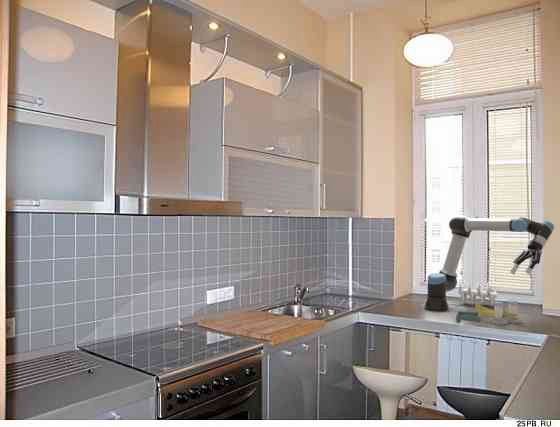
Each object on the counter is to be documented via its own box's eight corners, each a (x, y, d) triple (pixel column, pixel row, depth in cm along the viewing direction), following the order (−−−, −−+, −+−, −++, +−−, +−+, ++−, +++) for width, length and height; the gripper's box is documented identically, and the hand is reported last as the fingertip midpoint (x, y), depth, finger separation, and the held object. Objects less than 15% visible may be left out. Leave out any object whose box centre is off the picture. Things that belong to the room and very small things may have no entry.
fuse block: (511, 322, 269) (511, 316, 269) (525, 325, 261) (525, 319, 261) (486, 324, 262) (486, 318, 262) (498, 328, 253) (498, 322, 253)
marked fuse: (507, 320, 266) (507, 300, 267) (516, 321, 265) (517, 300, 265) (508, 322, 262) (508, 301, 262) (517, 323, 260) (517, 302, 260)
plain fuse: (493, 321, 262) (493, 301, 263) (502, 322, 261) (503, 301, 261) (493, 323, 258) (494, 302, 258) (503, 324, 256) (503, 303, 256)
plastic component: (511, 315, 278) (502, 309, 273) (507, 326, 277) (498, 320, 272) (482, 306, 295) (474, 301, 290) (478, 317, 294) (469, 312, 289)
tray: (457, 317, 280) (457, 310, 280) (479, 319, 275) (479, 312, 275) (456, 321, 269) (456, 314, 269) (479, 323, 264) (479, 316, 264)
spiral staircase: (495, 314, 311) (456, 308, 321) (496, 299, 325) (458, 294, 335) (497, 291, 303) (457, 286, 314) (498, 277, 318) (459, 273, 328)
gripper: (557, 246, 258) (539, 276, 254) (527, 249, 282) (510, 277, 278) (546, 238, 258) (528, 268, 254) (518, 242, 282) (501, 269, 278)
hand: (519, 273), depth 266 cm, fingers open, 13 cm apart
